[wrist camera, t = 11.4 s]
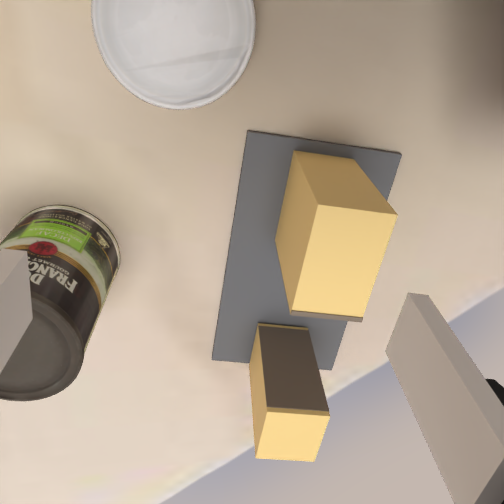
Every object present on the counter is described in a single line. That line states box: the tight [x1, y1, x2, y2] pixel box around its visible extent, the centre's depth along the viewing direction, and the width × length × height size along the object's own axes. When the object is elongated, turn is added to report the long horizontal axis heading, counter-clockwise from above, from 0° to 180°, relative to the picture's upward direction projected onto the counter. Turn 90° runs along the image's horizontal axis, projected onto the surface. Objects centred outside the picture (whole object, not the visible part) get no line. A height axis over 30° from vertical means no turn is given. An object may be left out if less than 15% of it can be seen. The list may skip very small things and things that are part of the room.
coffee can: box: [0, 205, 120, 401], centre depth 39 cm, size 10×10×14 cm
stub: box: [249, 323, 330, 462], centre depth 46 cm, size 6×6×12 cm
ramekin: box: [91, 0, 256, 110], centre depth 33 cm, size 11×11×5 cm
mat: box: [212, 131, 402, 370], centre depth 47 cm, size 26×14×1 cm, turn 171°
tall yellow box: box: [275, 150, 398, 322], centre depth 38 cm, size 9×6×12 cm, turn 171°
